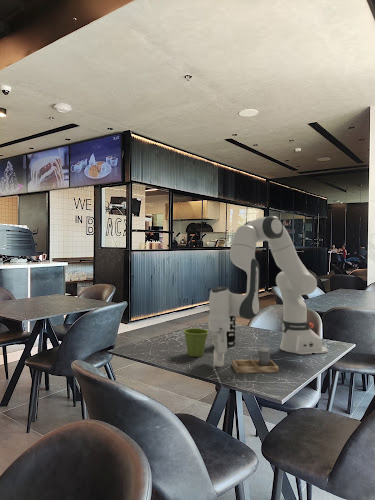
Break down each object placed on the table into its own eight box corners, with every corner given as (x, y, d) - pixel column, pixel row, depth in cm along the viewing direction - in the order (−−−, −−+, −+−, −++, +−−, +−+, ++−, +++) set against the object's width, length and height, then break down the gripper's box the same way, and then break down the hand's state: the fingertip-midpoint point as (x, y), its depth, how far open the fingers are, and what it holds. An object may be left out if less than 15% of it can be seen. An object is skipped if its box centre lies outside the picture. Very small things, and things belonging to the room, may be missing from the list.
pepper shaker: (267, 366, 157) (268, 347, 157) (270, 369, 153) (271, 350, 153) (257, 366, 157) (257, 347, 157) (260, 370, 153) (260, 350, 152)
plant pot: (200, 360, 168) (200, 335, 168) (178, 356, 174) (178, 331, 174) (213, 354, 178) (213, 330, 178) (191, 350, 184) (191, 327, 184)
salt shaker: (223, 365, 161) (223, 346, 161) (224, 368, 157) (224, 349, 157) (212, 365, 161) (213, 346, 161) (214, 368, 156) (214, 349, 156)
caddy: (271, 366, 160) (271, 359, 160) (278, 374, 150) (278, 367, 150) (231, 367, 159) (231, 359, 159) (236, 375, 149) (236, 367, 149)
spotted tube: (217, 345, 193) (217, 306, 193) (221, 341, 201) (222, 304, 200) (232, 347, 190) (233, 307, 190) (237, 343, 198) (237, 305, 197)
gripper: (231, 331, 148) (230, 366, 148) (222, 320, 169) (222, 351, 169) (215, 331, 148) (214, 366, 148) (208, 321, 168) (208, 351, 168)
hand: (218, 358), depth 159 cm, fingers closed on salt shaker, 4 cm apart
